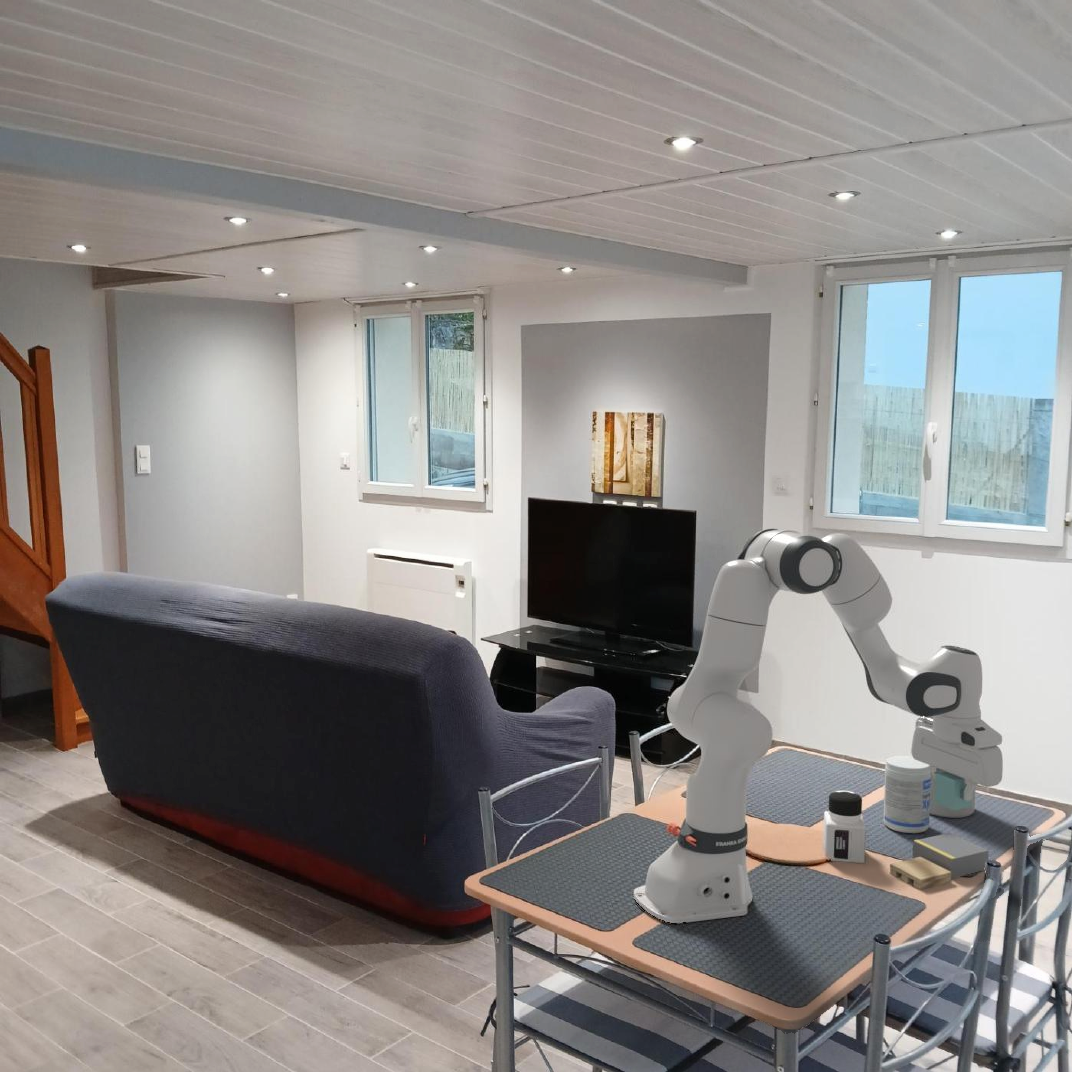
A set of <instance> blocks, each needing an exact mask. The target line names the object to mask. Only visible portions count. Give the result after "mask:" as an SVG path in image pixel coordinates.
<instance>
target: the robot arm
mask: <svg viewBox="0 0 1072 1072" xmlns="http://www.w3.org/2000/svg"><path fill="white" fill-rule="evenodd" d="M780 590H781V591H785V592H791V593H795V594H799V595H810V594H815V593H818V592H819V593H820V592H822V594H823V595H824V597H825V598H826V601H827V602H828V604H829V605H830V607H831V608H832V610H833V611H834V612H835V614H836V615H837V617H838V619H839V621H840V622H841V625H842V627H843V629H844V631H845V633H846V634H847V637H848V639H849V640H850V642H851V644H852V646H853V648H854V650H855V651H856V653H857V656H858V657H859V659H860V661H861V663H862V665H863V669H864V674H865V680H866V684H867V687H868V688H867V689H868V690H869V692H870V694H871V695H872V696H873V698H875V699H876V700H877V701H879V702H881V703H885V704H888V705H891V706H894V707H896V708H898V709H901V710H902V711H904V712H908V713H910V714H912V715H913V716H914V715H915V716H917V717H918V718H917V719H916V720H915V729H914V731H913V736H912V742H911V747H910V748H911V750H910V752H911V753H910V754H911V757H913V758H914V759H915V760H918V761H920V762H923V763H925V764H928V765H931V772H932V774H933V777H934V779H935V773H939V772H942V771H946V772H949V773H951V774H954V775H956V776H959V777H962V778H964V779H965V784H967V786H966V788H965V789H964V790H960V794H961V795H960V798H961V799H964V800H966V801H968V800H971V799H972V793H973V791H974V789H975V788H976V789H977V787H978V785H979V786H982V787H985V788H990V787H991V788H992V787H995V786H998V785H1000V783H1001V782H1002V779H1003V769H1004V768H1003V767H1004V766H1003V763H1004V762H1003V753H1002V751H1001V748H1000V747H999V746H1000V745H1002V743H1003V735H1002V734H1001V733H1000V732H998V731H997V730H995V729H994V728H993V727H991V726H990V725H989V724H988V723H987V722H985V721H984V720H983V719H982V712H981V708H980V707H981V706H980V707H979V705H980V701H981V697H982V694H983V666H982V661H981V658H980V656H979V654H977V652H975V651H973V650H970V649H968V648H963V647H959V646H956V645H955V646H954V645H941V646H940V647H939V649H938V650H937V651H936V652H935V654H933V655H932V656H931V657H929V658H928V659H926V660H924V661H922V662H919V663H917V662H914V661H911V660H909V659H907V658H905V657H903V656H901V655H899V654H898V653H897V652H896V651H894V650H893V649H892V648H891V645H890V644H889V641H888V640H887V638H886V636H885V634H884V632H883V631H882V628H881V627H880V625H879V624H880V622H881V621H883V620H884V619H885V618H886V617H887V616H888V613H889V612H890V610H891V607H892V604H893V597H892V594H891V591H890V588H889V586H888V584H887V582H886V580H885V578H884V577H883V575H882V573H881V572H880V571H879V569H878V568H877V566H876V564H875V563H874V561H873V560H872V559H871V557H870V556H869V555H868V554H867V553H866V551H865V550H864V549H863V548H862V547H861V545H859V543H858V542H857V541H856V540H855V539H854V538H853V537H851V536H850V535H847V533H841V532H839V533H831V534H827V535H826V536H824V537H822V538H819V537H816V536H814V535H813V536H812V535H807V534H804V533H802V532H799V531H795V530H789V529H777V528H767V529H762V530H759V531H758V532H756V533H754V534H753V535H751V536H750V537H749V539H748V540H747V541H746V543H745V545H744V547H743V548H742V551H741V552H740V554H739V555H738V557H737V559H735V560H730V561H728V562H726V563H725V564H723V565H722V567H721V568H720V570H719V572H718V574H717V576H716V579H715V582H714V585H713V588H712V590H711V591H712V592H711V594H710V598H709V602H708V603H709V604H708V607H707V612H706V617H705V620H704V621H705V622H704V627H703V632H702V637H701V641H700V646H699V651H698V655H697V657H696V660H695V662H694V665H693V666H692V669H691V670H690V672H689V674H688V677H687V678H686V680H685V681H684V682H683V684H682V685H680V686H679V687H677V688H676V689H675V690H674V691H673V692H672V693H671V695H670V697H669V699H668V701H667V706H666V713H667V717H668V720H669V722H670V724H671V725H672V726H673V727H674V728H675V730H676V731H678V733H679V734H680V735H681V736H682V737H683V738H685V739H687V740H689V741H690V742H692V743H694V744H696V745H698V746H699V748H700V750H701V756H700V760H699V765H698V767H697V770H696V771H695V772H693V773H691V774H690V776H689V777H688V779H687V780H686V787H685V788H686V794H685V818H684V819H683V822H682V823H681V826H678V825H677V824H676V823H673V822H670V823H668V825H667V826H666V827H667V828H666V831H667V833H669V834H671V835H672V836H673V837H677V839H676V841H674V843H673V844H672V845H670V846H669V847H668V849H667V850H665V851H664V852H663V853H662V854H661V855H660V856H659V857H657V858H656V859H655V860H654V861H653V862H652V863H651V864H650V865H649V868H648V870H647V872H646V873H647V875H646V877H645V878H646V879H645V884H644V885H641V886H638V887H636V888H634V890H633V894H634V895H633V894H632V897H633V896H634V897H633V900H634V899H635V900H636V902H637V903H639V905H640V906H642V907H643V908H644V909H645V910H646V911H647V912H649V913H650V914H651V915H650V914H649V915H650V916H652V915H653V916H655V917H657V918H658V919H657V918H656V919H657V920H659V919H661V920H660V921H662V920H664V921H665V923H667V922H670V923H669V924H671V923H677V924H684V923H683V922H686V923H692V922H693V923H694V922H700V921H701V922H702V921H708V920H717V919H723V918H724V919H725V918H731V917H733V918H734V917H740V916H742V917H743V916H746V915H747V914H748V910H749V909H748V906H749V905H750V904H751V902H752V901H753V897H754V896H753V892H752V890H751V886H750V880H749V875H748V874H749V873H748V866H747V856H746V855H747V853H746V848H747V845H748V836H749V835H748V834H749V833H748V831H749V829H748V828H749V827H748V823H747V822H746V817H747V815H746V811H747V810H746V809H747V791H748V785H749V779H750V776H751V774H752V772H753V771H752V770H753V768H754V766H755V764H756V763H757V762H759V761H760V760H762V758H764V757H765V755H766V754H767V753H768V751H769V750H770V748H771V746H772V742H773V727H772V724H771V723H770V721H769V719H768V718H767V717H766V716H765V715H764V714H763V713H762V712H761V711H760V710H758V709H757V708H756V706H754V705H753V704H750V703H749V702H747V701H744V700H742V699H740V698H738V692H739V690H740V687H741V685H742V684H743V682H744V680H745V678H747V676H748V675H749V674H751V673H753V672H755V671H756V669H758V667H759V665H760V662H761V657H762V652H763V647H764V641H765V635H766V629H767V624H768V619H769V618H768V617H769V611H770V608H771V607H770V606H771V603H772V602H773V599H774V597H775V596H776V594H777V593H778V592H779V591H780ZM920 716H921V717H920ZM931 716H933V719H930V718H928V717H931ZM635 900H634V901H635ZM636 902H635V903H636ZM637 903H636V904H637ZM639 905H638V906H639ZM640 906H639V907H640ZM646 911H645V912H646ZM647 912H646V913H647ZM653 916H652V917H653ZM655 917H654V918H655ZM664 921H663V922H664Z"/></svg>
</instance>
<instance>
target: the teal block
mask: <svg viewBox="0 0 1072 1072" xmlns="http://www.w3.org/2000/svg"><path fill="white" fill-rule="evenodd" d="M966 786H967V784H965V779H964V778H962V777H959V776H956V775H954V774H951V773H949V772H946V771H944V772H939V773H935V795H934V802H935V803H938V804H940V805H942V806H945V807H947V808H949V809H952V810H958V809H962V808H967V807H971V806H972V799H971V800H968V801H966V800H964V799H961V798H960V795H961V794H960V790H964V789H965V788H966ZM972 797H973V793H972Z"/></svg>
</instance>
